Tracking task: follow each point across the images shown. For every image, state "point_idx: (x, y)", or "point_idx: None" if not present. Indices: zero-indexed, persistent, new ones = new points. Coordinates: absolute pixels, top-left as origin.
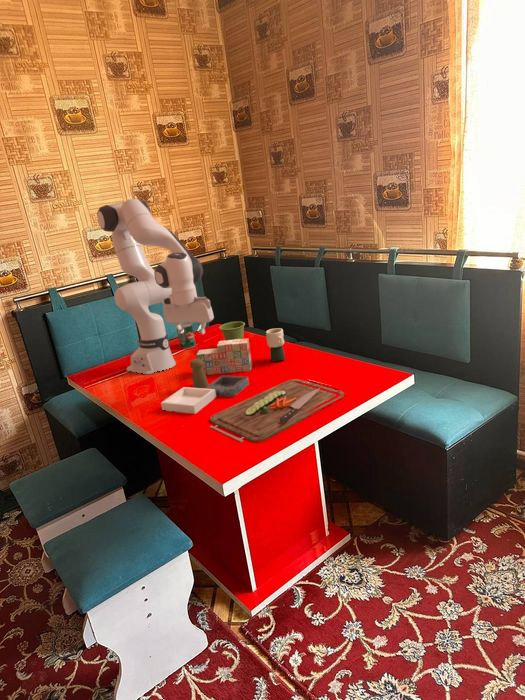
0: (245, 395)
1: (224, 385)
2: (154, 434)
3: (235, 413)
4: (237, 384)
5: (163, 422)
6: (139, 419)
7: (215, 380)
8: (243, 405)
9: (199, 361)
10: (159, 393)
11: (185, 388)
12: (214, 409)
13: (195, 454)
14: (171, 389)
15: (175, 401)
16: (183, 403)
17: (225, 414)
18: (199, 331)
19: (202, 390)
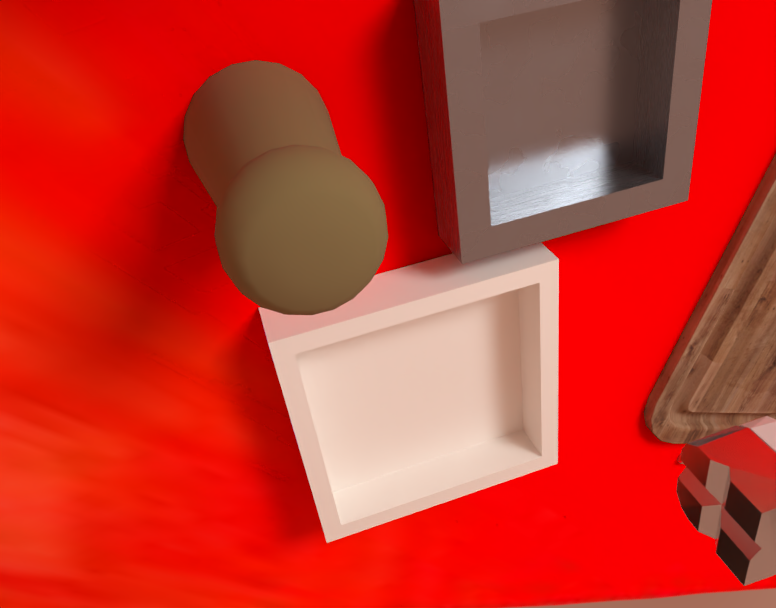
0: (717, 125)
1: (491, 59)
2: (473, 605)
3: (756, 346)
4: (689, 116)
5: (432, 549)
6: (278, 602)
7: (455, 124)
8: (770, 266)
9: (379, 254)
10: (16, 393)
11: (306, 350)
12: (609, 350)
13: (707, 571)
14: (36, 300)
15: (314, 423)
16: (478, 479)
17: (711, 376)
18: (724, 544)
19: (460, 301)
